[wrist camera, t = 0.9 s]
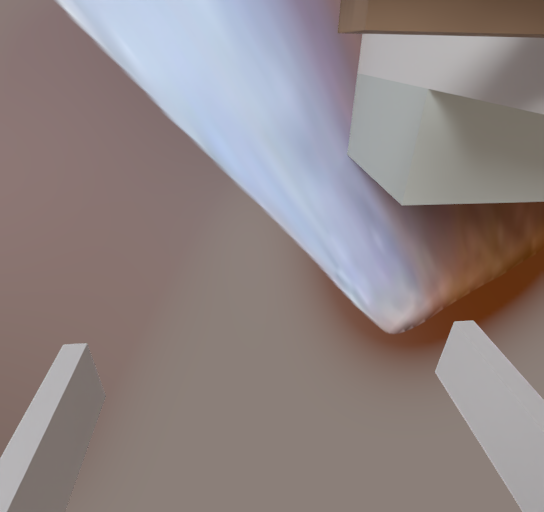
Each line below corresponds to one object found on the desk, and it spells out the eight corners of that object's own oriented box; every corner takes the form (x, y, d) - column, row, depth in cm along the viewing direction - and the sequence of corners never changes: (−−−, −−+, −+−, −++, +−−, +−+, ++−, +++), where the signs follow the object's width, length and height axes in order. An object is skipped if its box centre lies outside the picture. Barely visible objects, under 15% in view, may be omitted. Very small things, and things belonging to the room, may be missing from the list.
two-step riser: (370, -31, 38) (660, -185, 12) (555, -23, 40) (1127, -141, 15) (347, 154, 48) (479, 277, 23) (495, 152, 50) (767, 263, 25)
